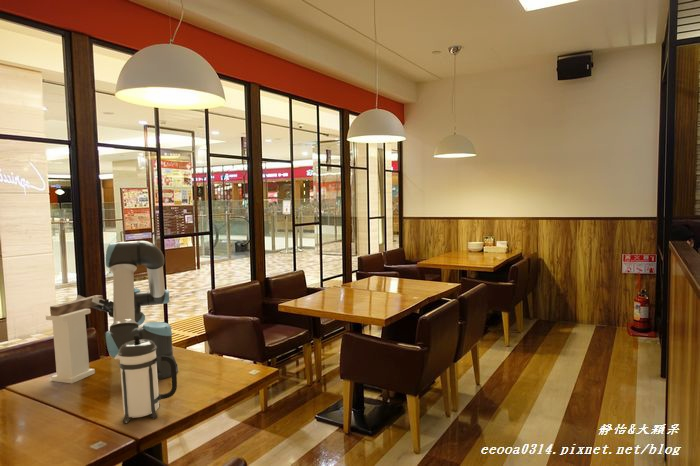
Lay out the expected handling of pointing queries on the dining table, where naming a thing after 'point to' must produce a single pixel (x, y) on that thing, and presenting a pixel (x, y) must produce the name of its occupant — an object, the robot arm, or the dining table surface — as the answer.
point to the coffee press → (142, 378)
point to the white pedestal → (71, 346)
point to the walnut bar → (73, 306)
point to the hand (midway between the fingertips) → (85, 298)
